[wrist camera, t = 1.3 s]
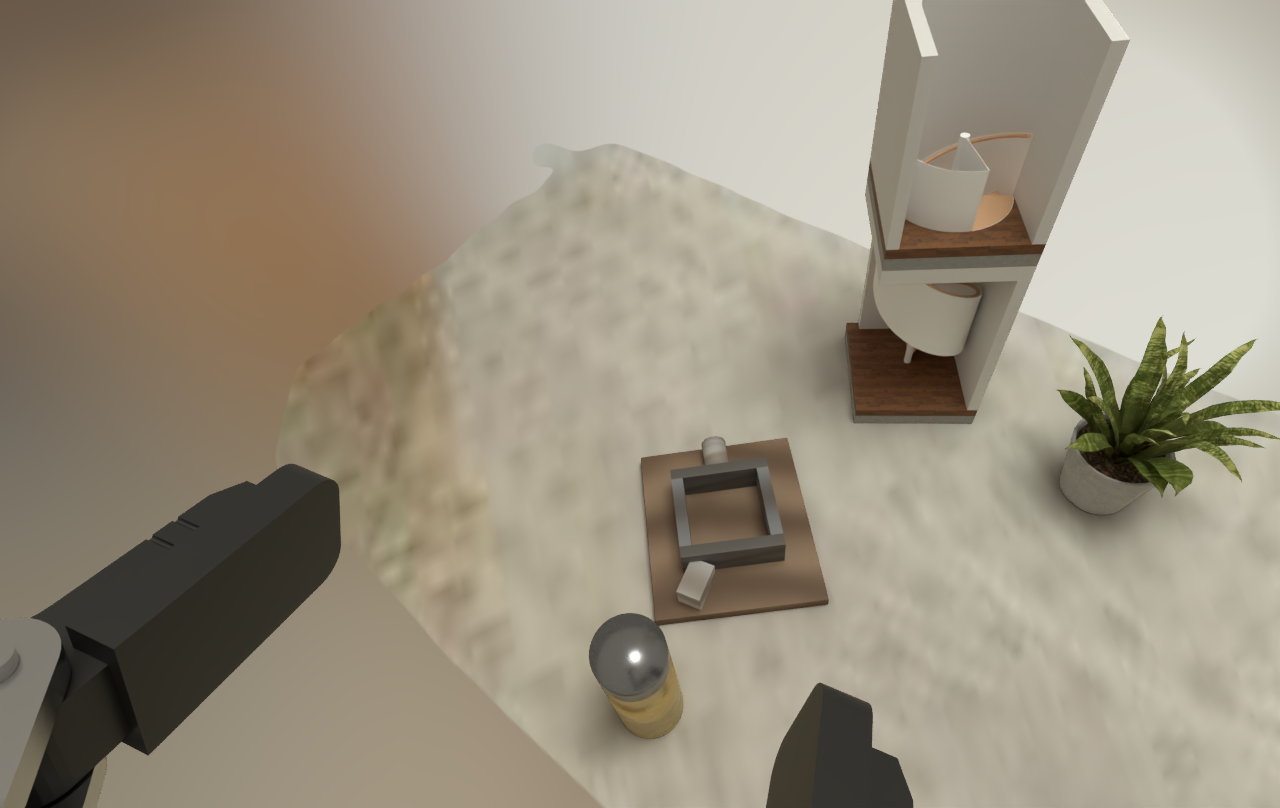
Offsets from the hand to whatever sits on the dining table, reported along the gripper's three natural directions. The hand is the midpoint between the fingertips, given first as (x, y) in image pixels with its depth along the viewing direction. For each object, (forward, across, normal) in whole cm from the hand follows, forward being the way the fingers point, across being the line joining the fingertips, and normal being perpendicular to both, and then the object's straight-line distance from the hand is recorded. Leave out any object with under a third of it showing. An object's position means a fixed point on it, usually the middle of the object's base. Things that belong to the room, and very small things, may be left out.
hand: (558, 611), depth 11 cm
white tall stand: (+59, +15, -21) cm, 64 cm away
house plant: (+49, +32, -21) cm, 63 cm away
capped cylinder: (+26, +2, -38) cm, 46 cm away
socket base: (+41, +4, -32) cm, 52 cm away
